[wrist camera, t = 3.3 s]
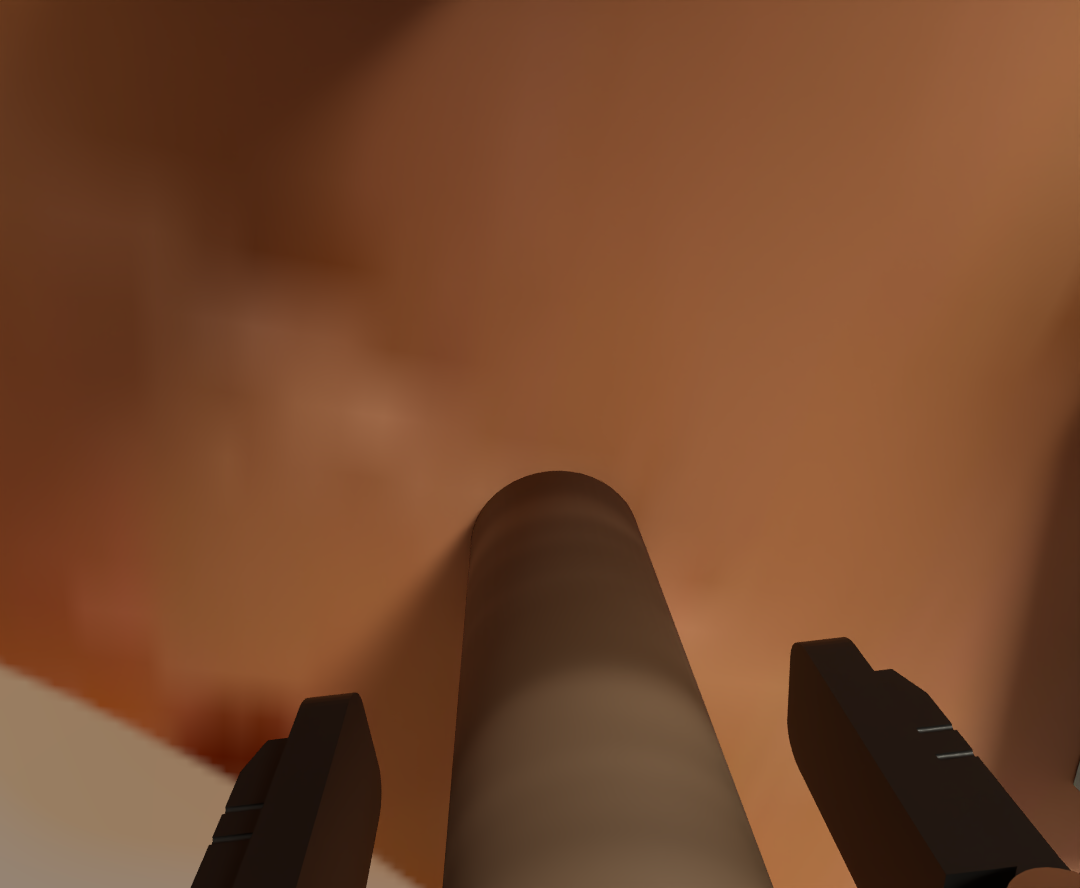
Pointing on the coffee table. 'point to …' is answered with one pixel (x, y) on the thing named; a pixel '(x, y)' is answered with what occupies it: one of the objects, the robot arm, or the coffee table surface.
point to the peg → (582, 711)
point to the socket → (1077, 779)
